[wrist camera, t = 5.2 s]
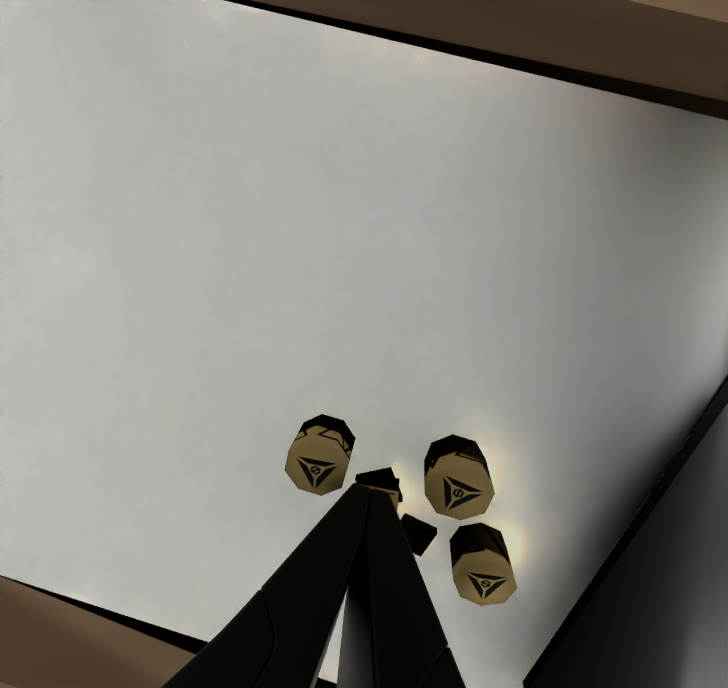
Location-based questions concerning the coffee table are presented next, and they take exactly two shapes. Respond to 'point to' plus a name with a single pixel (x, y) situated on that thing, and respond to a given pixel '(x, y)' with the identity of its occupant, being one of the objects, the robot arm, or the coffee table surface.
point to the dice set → (442, 488)
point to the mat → (658, 584)
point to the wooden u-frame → (452, 36)
